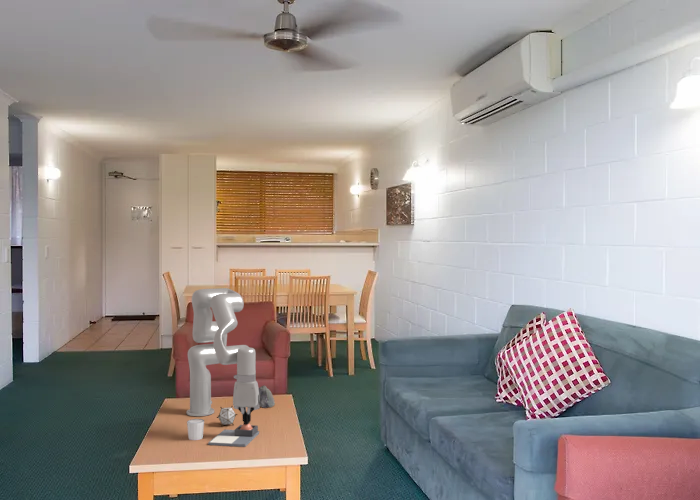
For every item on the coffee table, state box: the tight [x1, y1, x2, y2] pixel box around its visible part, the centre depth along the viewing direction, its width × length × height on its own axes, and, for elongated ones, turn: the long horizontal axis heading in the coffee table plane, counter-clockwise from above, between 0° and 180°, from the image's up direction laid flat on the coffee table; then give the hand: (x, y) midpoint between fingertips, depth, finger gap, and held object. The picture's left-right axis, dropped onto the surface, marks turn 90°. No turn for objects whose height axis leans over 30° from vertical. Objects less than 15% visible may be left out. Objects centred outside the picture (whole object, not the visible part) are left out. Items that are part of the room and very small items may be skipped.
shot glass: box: [186, 418, 205, 441], centre depth 262 cm, size 7×7×7 cm
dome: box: [240, 423, 253, 430], centre depth 264 cm, size 5×5×4 cm
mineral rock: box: [258, 384, 276, 409], centre depth 315 cm, size 13×11×10 cm
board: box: [207, 424, 260, 448], centre depth 260 cm, size 18×15×4 cm
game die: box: [216, 405, 238, 427], centre depth 280 cm, size 9×8×10 cm
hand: (246, 423), depth 264 cm, fingers closed
